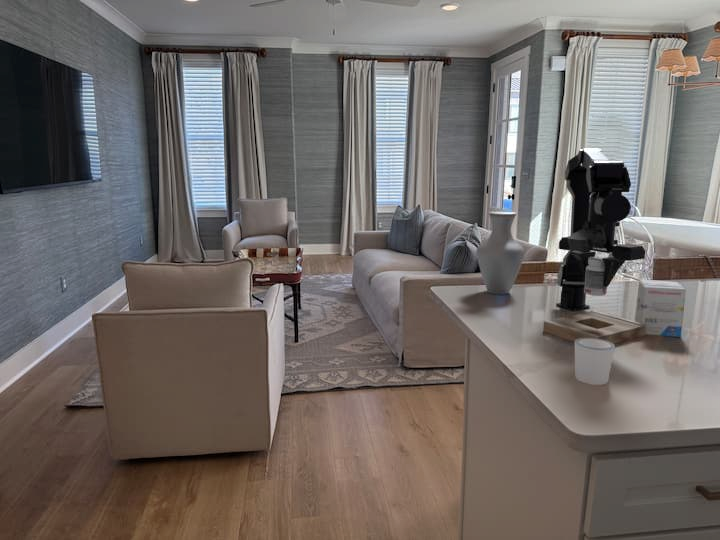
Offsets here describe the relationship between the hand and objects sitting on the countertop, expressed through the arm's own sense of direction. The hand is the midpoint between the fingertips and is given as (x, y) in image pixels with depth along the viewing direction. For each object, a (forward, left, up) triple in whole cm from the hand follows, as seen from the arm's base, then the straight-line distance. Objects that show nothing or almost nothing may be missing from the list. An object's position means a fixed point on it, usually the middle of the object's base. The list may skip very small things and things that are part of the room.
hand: (596, 284), depth 119 cm
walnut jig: (0, 0, -12) cm, 12 cm away
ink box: (-15, +6, -12) cm, 20 cm away
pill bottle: (0, 0, -2) cm, 2 cm away
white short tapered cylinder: (+23, +17, -12) cm, 31 cm away
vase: (-9, -41, -12) cm, 43 cm away
